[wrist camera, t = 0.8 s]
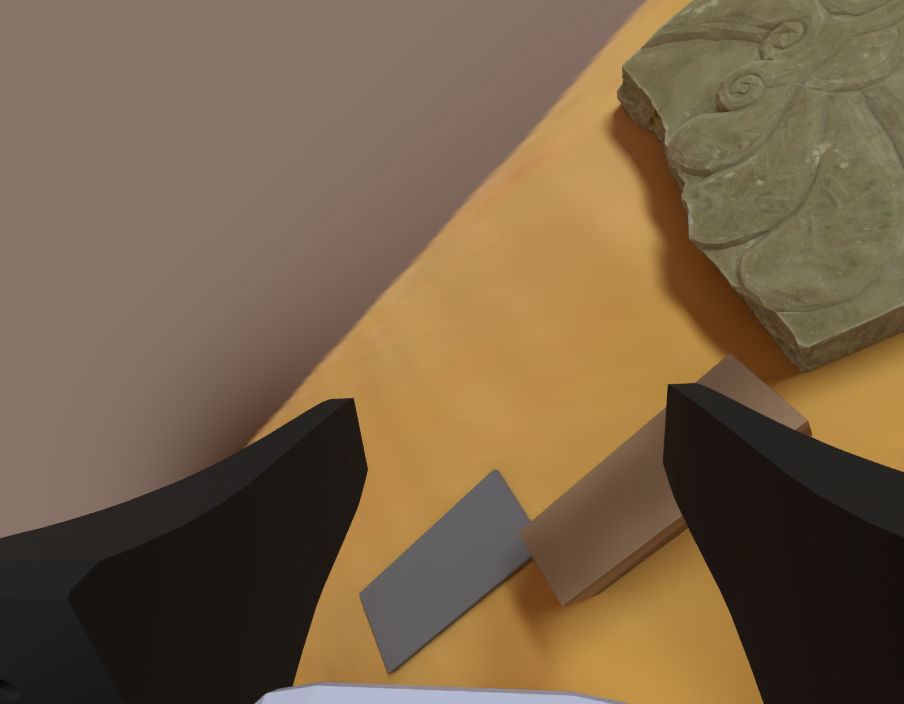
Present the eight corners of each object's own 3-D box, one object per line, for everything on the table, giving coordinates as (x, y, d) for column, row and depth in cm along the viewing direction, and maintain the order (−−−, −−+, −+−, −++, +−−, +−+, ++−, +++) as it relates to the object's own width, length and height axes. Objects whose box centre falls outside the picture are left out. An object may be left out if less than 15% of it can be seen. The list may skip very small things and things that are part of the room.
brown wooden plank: (812, 435, 21) (807, 420, 17) (600, 593, 24) (562, 606, 21) (746, 377, 23) (729, 353, 19) (559, 530, 26) (517, 533, 23)
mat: (546, 546, 26) (542, 546, 26) (394, 671, 30) (388, 673, 30) (498, 470, 29) (493, 469, 29) (364, 593, 33) (358, 593, 33)
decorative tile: (941, -153, 24) (955, -239, 21) (1476, 80, 14) (1630, -25, 11) (600, 118, 32) (577, 81, 29) (790, 388, 22) (783, 370, 19)
